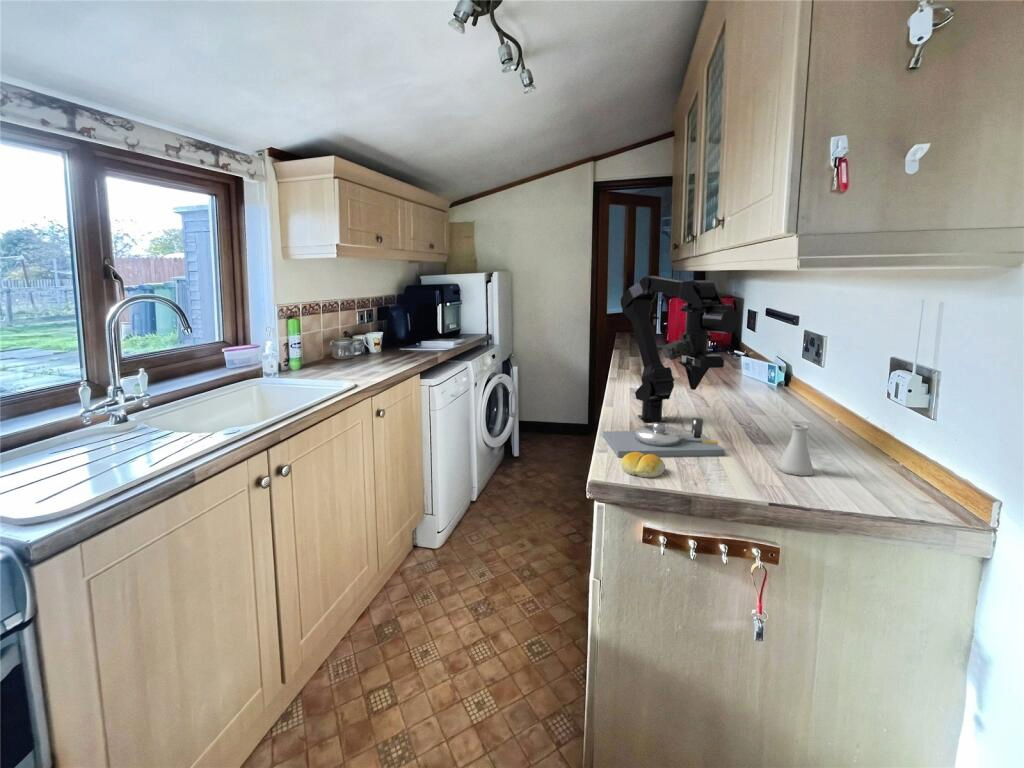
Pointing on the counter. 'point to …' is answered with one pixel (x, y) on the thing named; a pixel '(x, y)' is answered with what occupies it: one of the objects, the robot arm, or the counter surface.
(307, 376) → the counter surface
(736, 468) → the counter surface
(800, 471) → the flask
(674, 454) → the slate board
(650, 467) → the bread roll
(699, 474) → the counter surface
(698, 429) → the silver round handled piece
